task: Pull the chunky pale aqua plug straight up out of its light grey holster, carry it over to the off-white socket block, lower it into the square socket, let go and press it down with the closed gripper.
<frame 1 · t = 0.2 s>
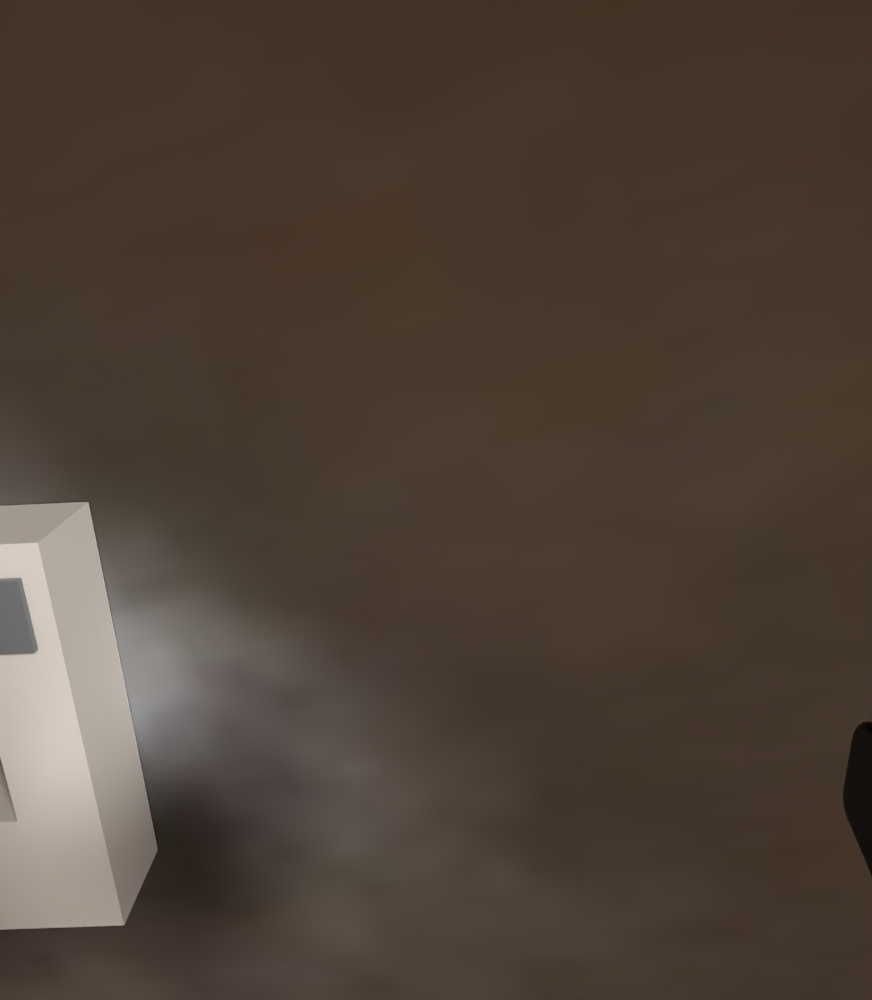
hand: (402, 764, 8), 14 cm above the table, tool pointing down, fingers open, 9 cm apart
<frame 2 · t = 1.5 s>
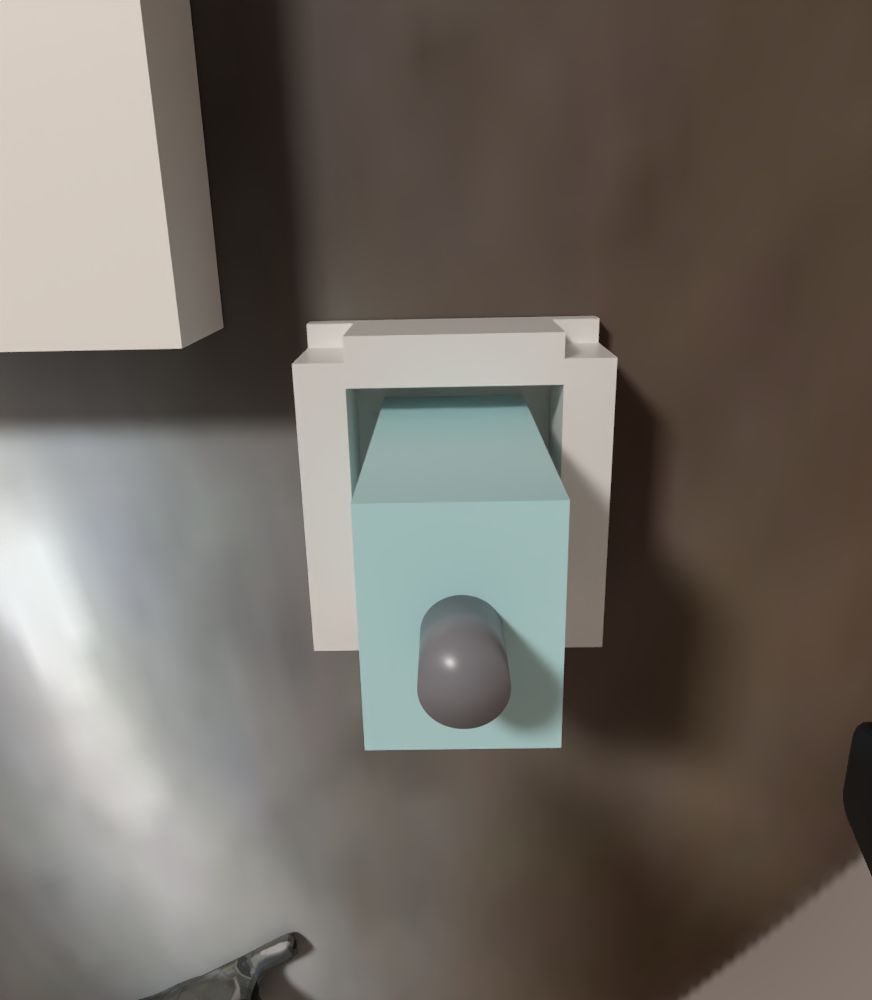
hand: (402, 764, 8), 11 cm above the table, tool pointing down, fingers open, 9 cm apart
plug: (454, 483, 18), resting on holster
holster: (454, 476, 19), on the table
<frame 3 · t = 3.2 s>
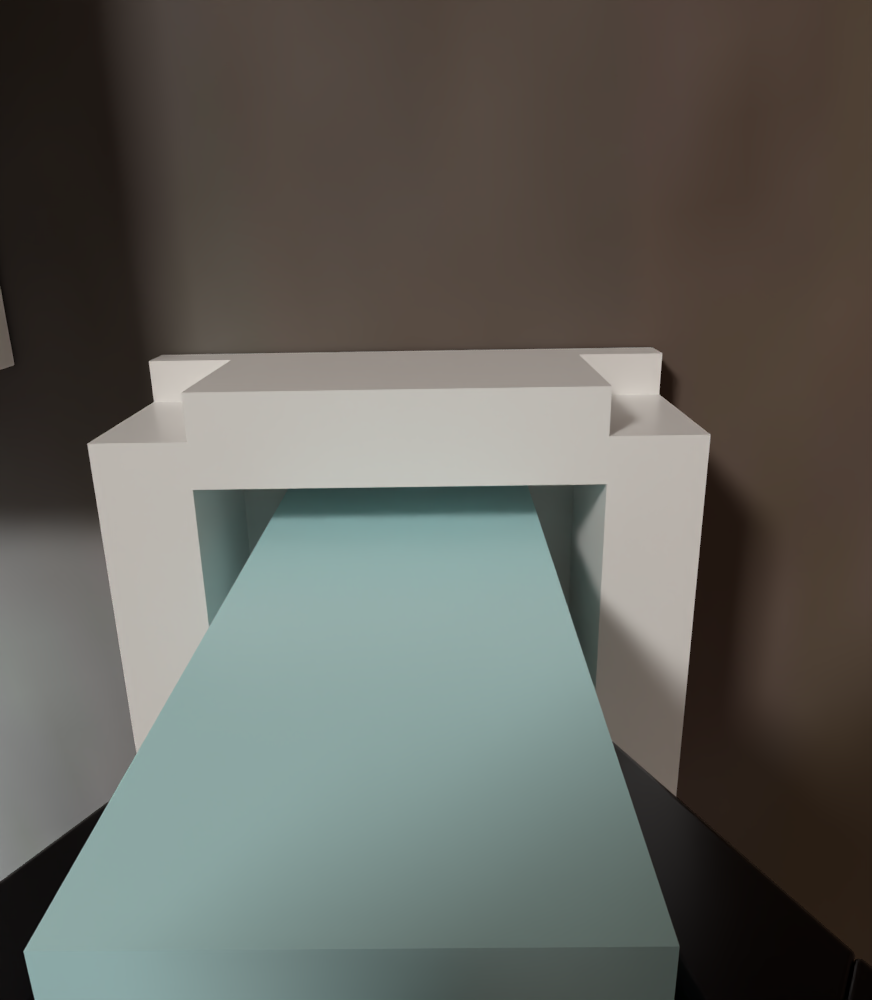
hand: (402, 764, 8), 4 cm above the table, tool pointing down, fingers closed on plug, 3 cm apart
plug: (412, 624, 11), resting on holster, touching gripper
holster: (413, 608, 11), on the table
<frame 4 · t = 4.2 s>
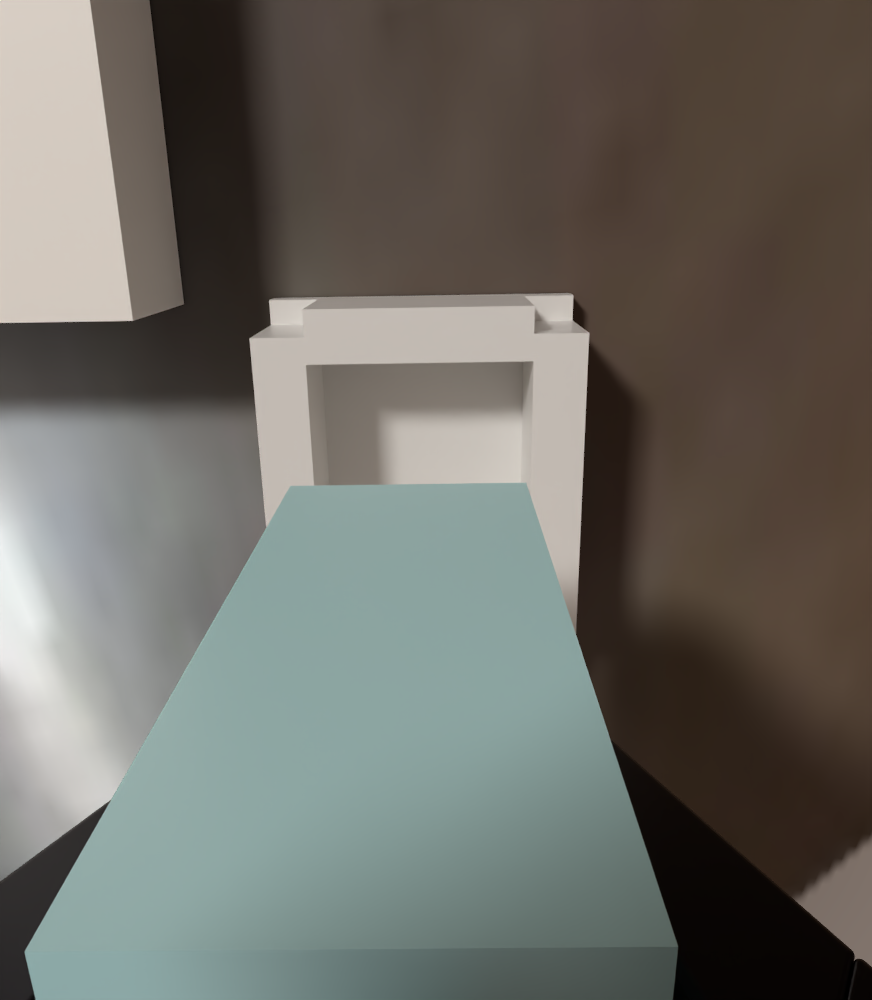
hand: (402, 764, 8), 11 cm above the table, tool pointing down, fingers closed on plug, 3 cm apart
plug: (412, 625, 11), point 8 cm above the table, touching gripper
holster: (425, 460, 18), on the table
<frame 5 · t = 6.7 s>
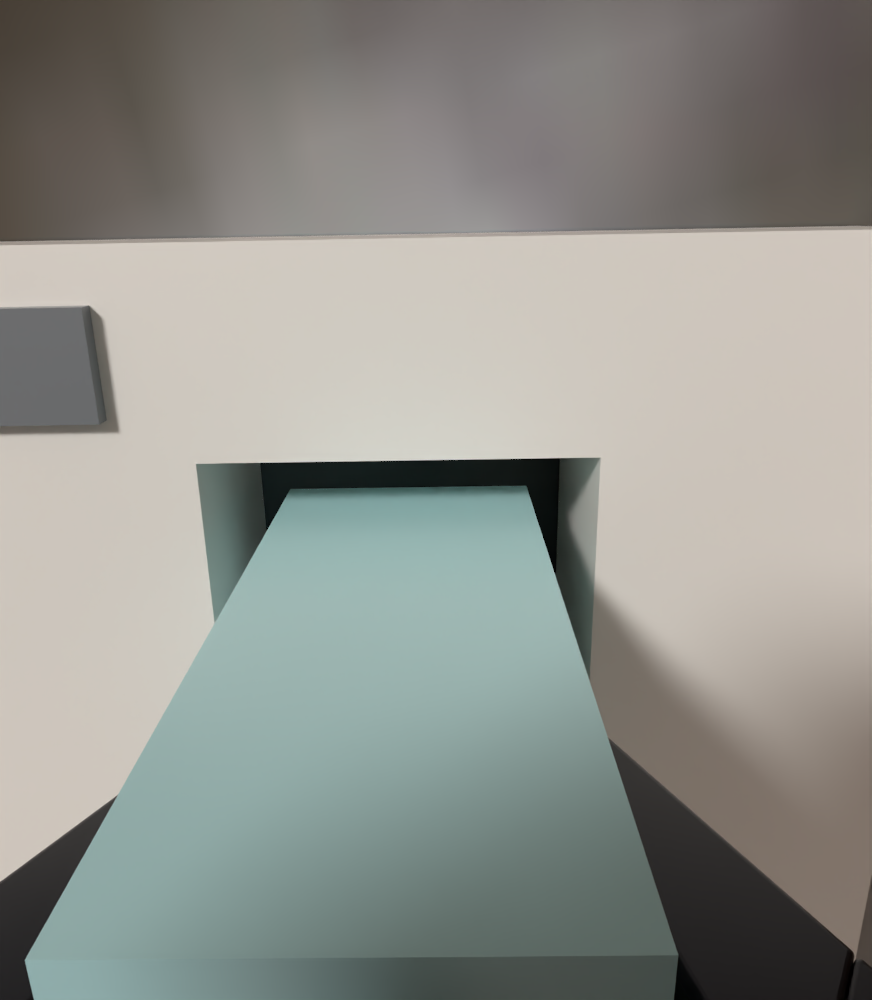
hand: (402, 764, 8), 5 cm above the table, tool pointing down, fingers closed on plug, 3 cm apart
plug: (412, 628, 11), point 2 cm above the table, touching gripper
socket block: (413, 575, 13), on the table
when the fingers open (4 cm above the table, at t = 7.0 s): plug drops 2 cm, resting in socket block.
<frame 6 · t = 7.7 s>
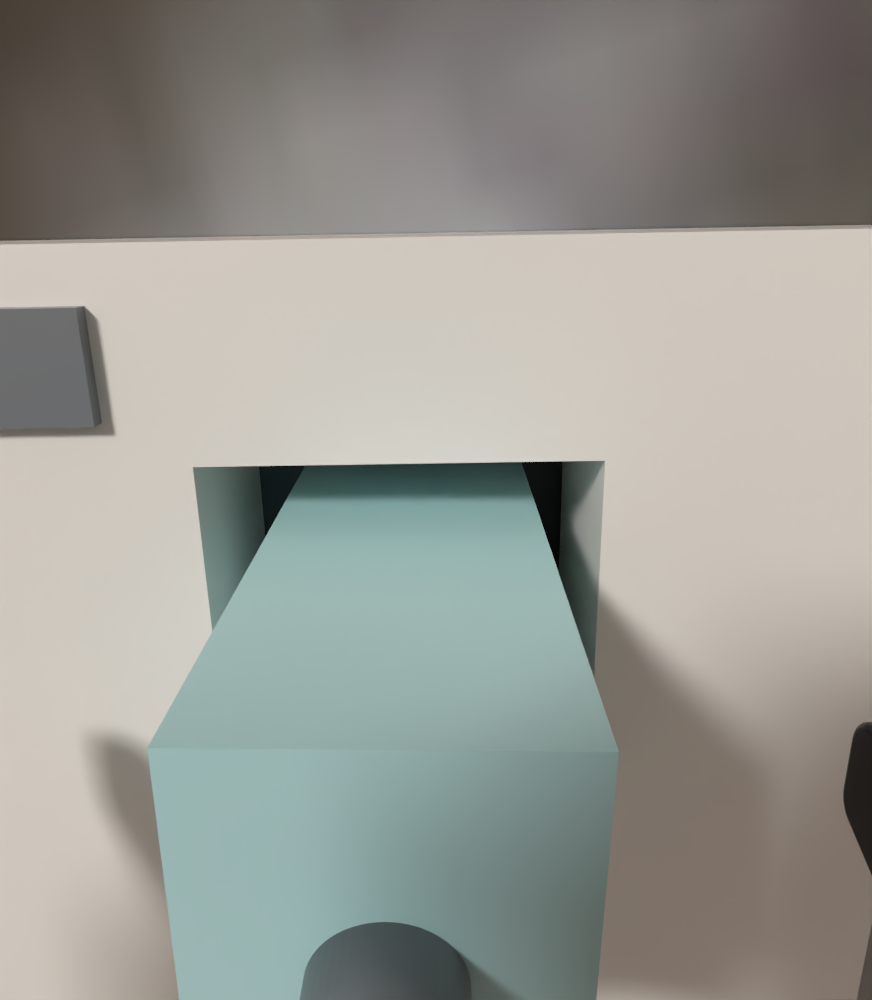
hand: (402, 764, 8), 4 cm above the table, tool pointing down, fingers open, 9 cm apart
plug: (415, 580, 12), resting in socket block
socket block: (413, 579, 12), on the table
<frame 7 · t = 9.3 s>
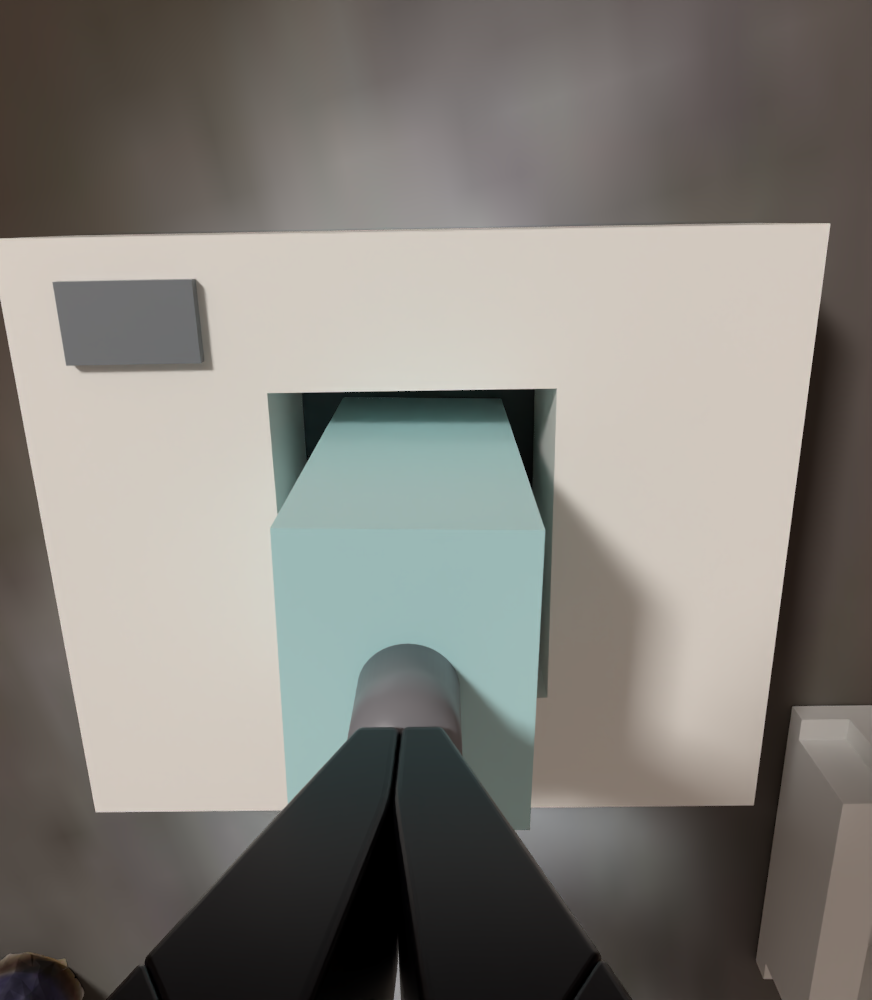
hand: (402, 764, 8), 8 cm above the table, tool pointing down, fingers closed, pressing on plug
plug: (422, 497, 16), resting in socket block, touching gripper
socket block: (420, 496, 16), on the table
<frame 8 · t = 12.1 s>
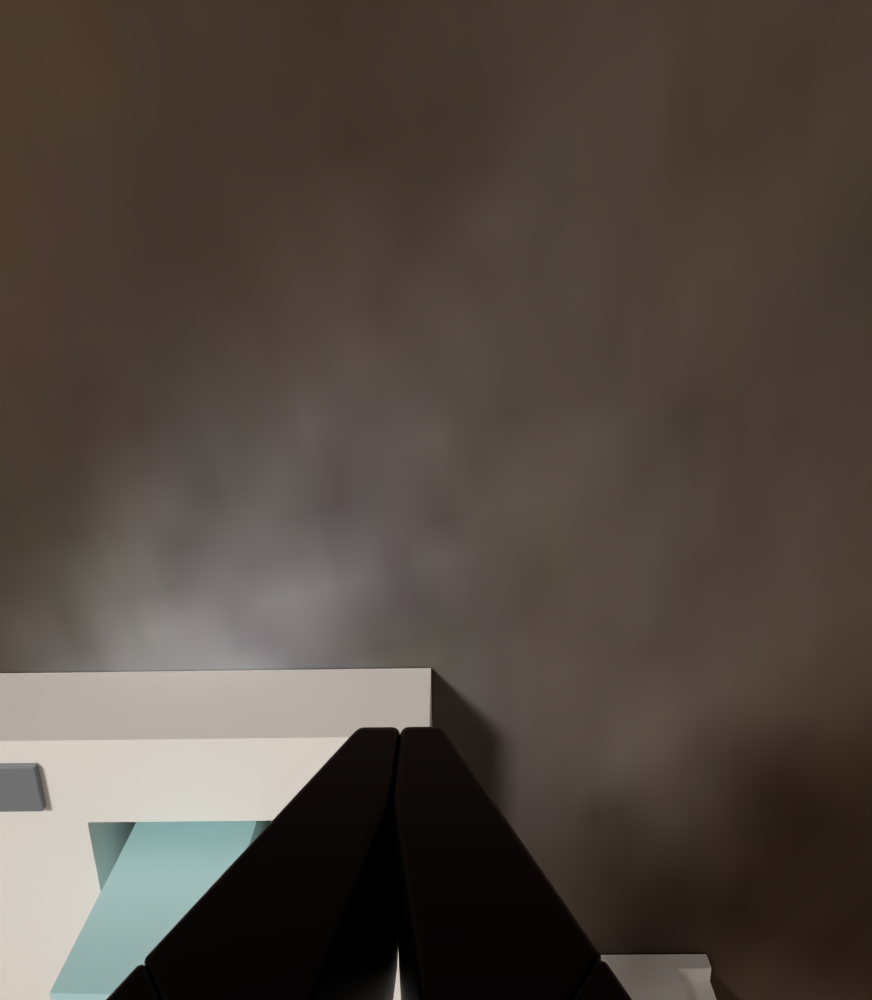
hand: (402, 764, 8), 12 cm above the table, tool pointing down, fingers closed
plug: (224, 825, 23), resting in socket block
socket block: (222, 825, 23), on the table
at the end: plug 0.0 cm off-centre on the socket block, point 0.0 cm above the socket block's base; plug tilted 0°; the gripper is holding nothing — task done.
